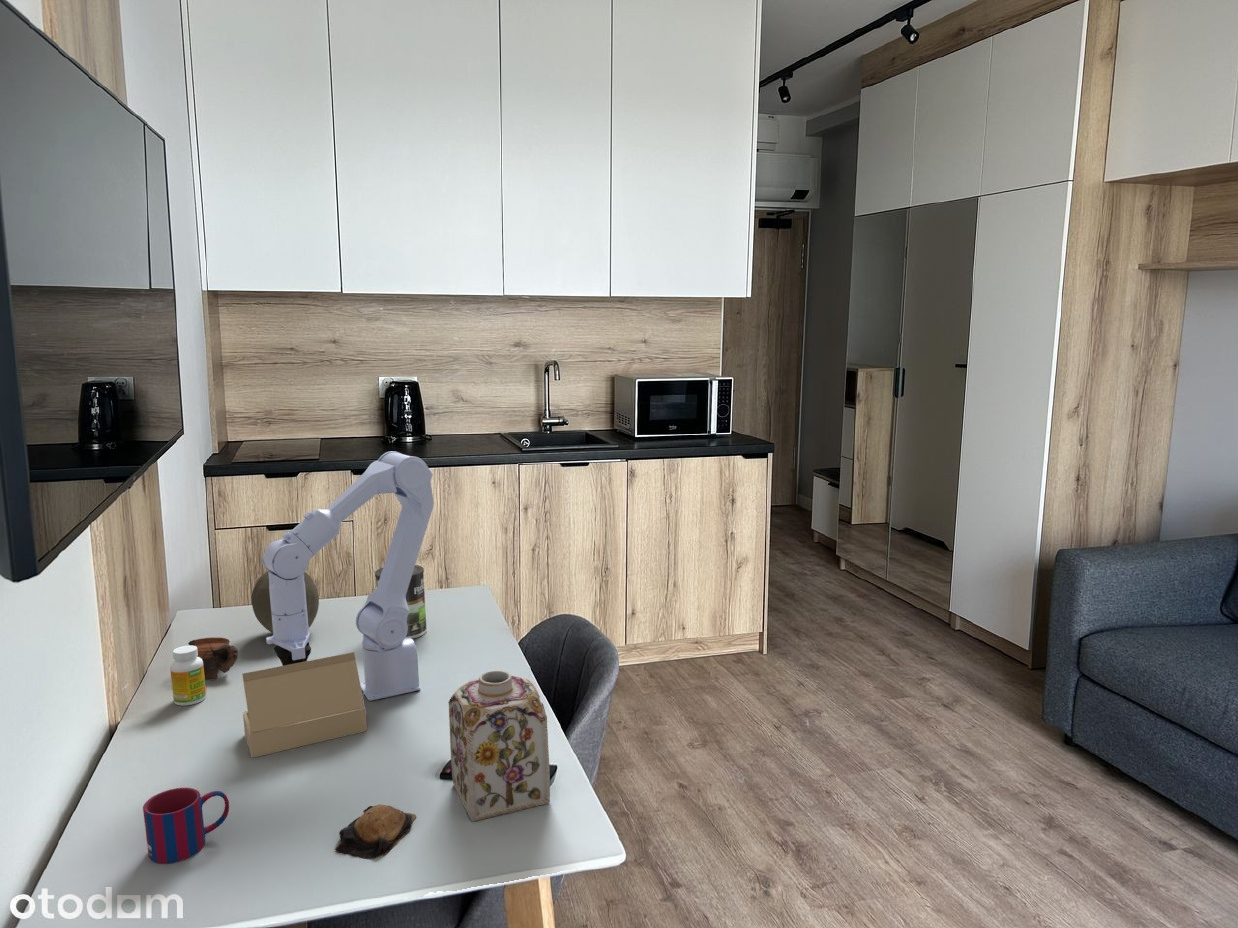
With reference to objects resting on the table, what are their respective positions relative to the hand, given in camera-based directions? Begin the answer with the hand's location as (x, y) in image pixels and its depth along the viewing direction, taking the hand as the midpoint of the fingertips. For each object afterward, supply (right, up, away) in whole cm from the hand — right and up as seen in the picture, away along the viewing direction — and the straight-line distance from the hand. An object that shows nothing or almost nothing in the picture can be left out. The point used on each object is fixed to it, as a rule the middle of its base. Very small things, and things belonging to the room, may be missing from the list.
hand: (295, 685), depth 155 cm
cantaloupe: (-16, +1, +40) cm, 43 cm away
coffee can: (+9, +1, +40) cm, 41 cm away
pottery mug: (-23, -3, +20) cm, 31 cm away
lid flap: (+5, +1, -9) cm, 10 cm away
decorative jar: (+39, -10, -26) cm, 48 cm away
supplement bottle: (-22, -5, +8) cm, 24 cm away
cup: (0, -12, -37) cm, 39 cm away
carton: (+4, -6, -6) cm, 10 cm away
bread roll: (+23, -12, -35) cm, 44 cm away
